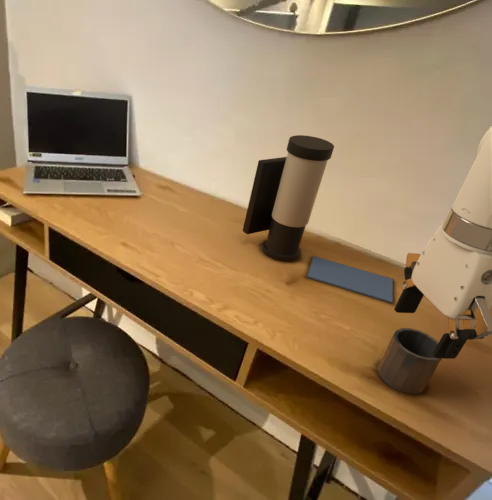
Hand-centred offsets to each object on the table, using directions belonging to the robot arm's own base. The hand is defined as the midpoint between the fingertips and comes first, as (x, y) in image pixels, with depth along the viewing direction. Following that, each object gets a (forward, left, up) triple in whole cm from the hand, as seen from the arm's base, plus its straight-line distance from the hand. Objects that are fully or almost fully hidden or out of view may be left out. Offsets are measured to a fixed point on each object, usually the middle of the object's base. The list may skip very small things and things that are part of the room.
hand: (422, 333), depth 69 cm
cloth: (-5, -27, -9) cm, 28 cm away
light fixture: (+7, -38, -9) cm, 39 cm away
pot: (0, 0, -9) cm, 9 cm away
